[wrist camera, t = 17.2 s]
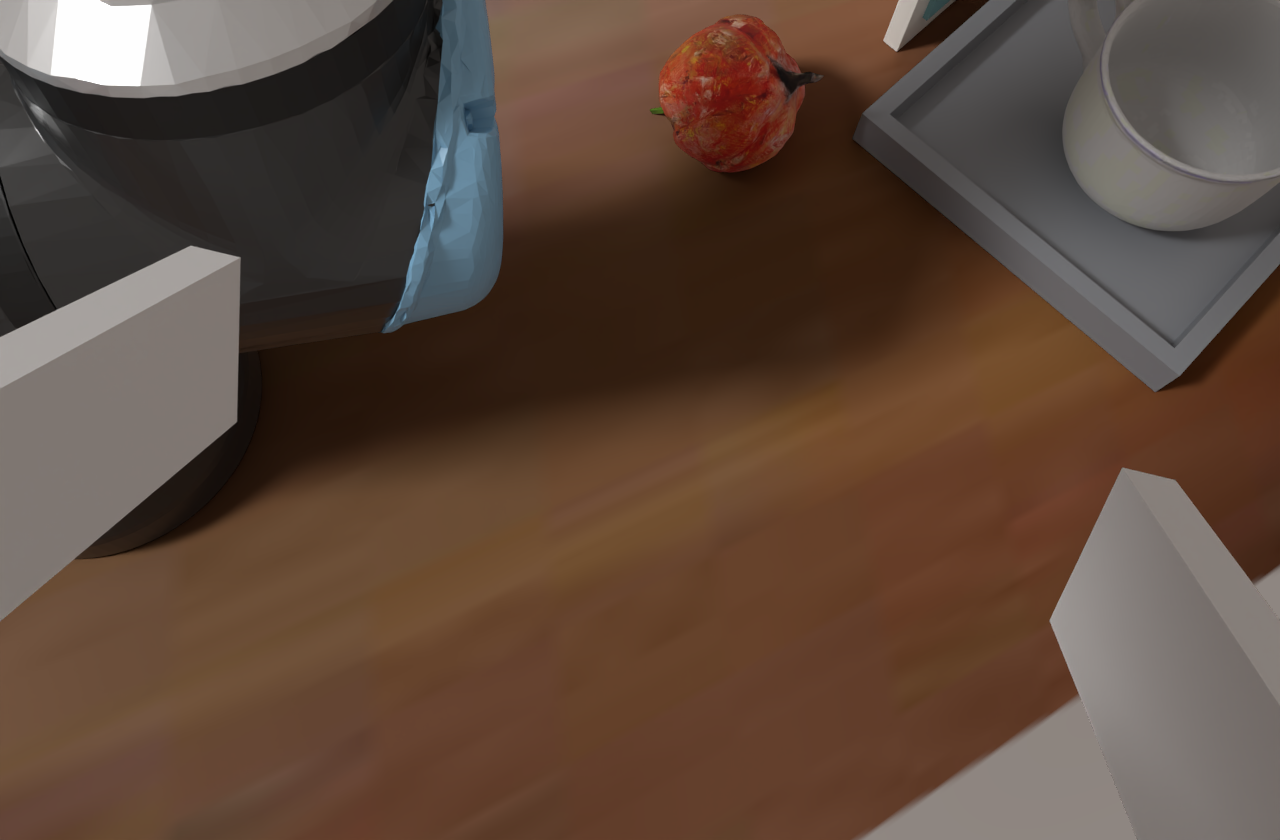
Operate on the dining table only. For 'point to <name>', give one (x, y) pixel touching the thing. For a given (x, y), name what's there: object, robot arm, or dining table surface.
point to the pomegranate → (732, 94)
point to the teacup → (1176, 109)
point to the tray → (1060, 192)
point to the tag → (912, 20)
